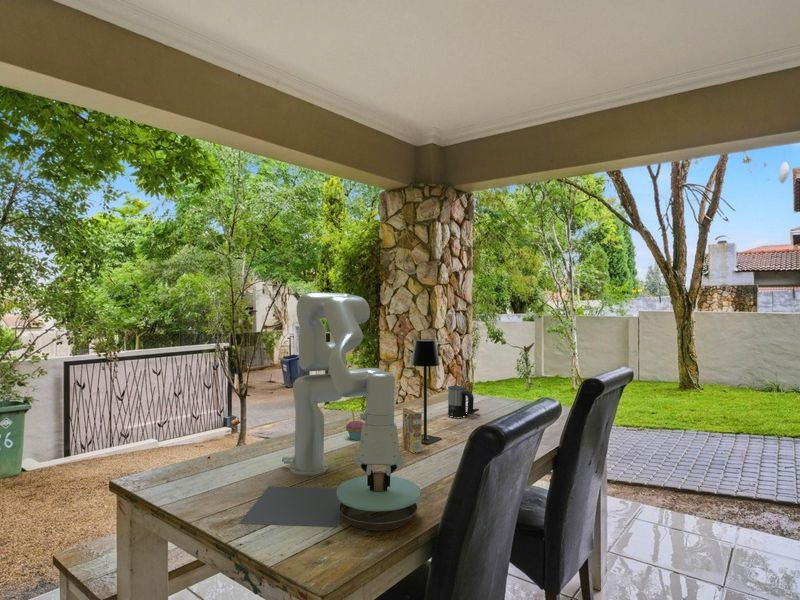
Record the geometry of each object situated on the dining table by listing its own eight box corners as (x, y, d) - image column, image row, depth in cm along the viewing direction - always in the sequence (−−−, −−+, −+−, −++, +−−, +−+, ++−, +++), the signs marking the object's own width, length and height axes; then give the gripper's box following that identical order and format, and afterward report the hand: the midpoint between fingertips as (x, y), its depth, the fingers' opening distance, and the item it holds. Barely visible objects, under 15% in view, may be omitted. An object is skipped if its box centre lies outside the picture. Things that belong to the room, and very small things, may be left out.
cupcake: (342, 440, 200) (343, 410, 200) (349, 434, 209) (350, 406, 209) (363, 442, 198) (363, 412, 198) (369, 436, 207) (369, 408, 207)
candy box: (421, 452, 187) (422, 411, 187) (412, 453, 185) (412, 412, 185) (411, 445, 195) (411, 407, 195) (401, 447, 193) (402, 407, 193)
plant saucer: (340, 502, 140) (341, 490, 140) (413, 501, 141) (413, 490, 141) (336, 537, 119) (336, 523, 119) (421, 536, 120) (421, 522, 120)
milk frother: (444, 417, 244) (445, 387, 244) (454, 411, 258) (454, 382, 258) (472, 420, 238) (473, 390, 238) (480, 414, 252) (481, 385, 253)
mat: (238, 525, 124) (238, 523, 124) (268, 487, 149) (268, 486, 149) (337, 528, 123) (337, 527, 123) (351, 490, 148) (351, 488, 148)
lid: (329, 509, 119) (330, 487, 119) (343, 477, 141) (343, 458, 141) (420, 512, 118) (421, 490, 119) (420, 480, 140) (420, 461, 141)
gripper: (346, 421, 127) (345, 493, 127) (410, 423, 126) (409, 495, 126) (350, 415, 134) (349, 482, 134) (411, 416, 134) (410, 484, 133)
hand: (378, 488), depth 130 cm, fingers closed on lid, 3 cm apart
